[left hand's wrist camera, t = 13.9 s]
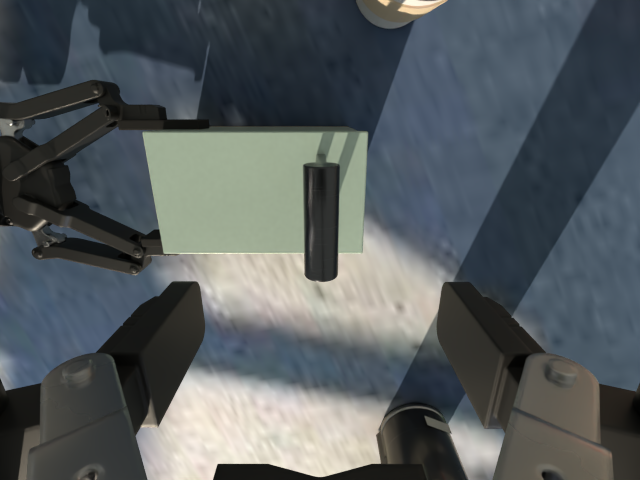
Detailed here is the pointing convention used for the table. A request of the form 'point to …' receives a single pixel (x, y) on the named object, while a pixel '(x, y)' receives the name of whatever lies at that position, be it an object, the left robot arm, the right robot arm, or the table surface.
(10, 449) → the left robot arm
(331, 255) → the lid
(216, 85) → the table surface
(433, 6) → the coffee cup
